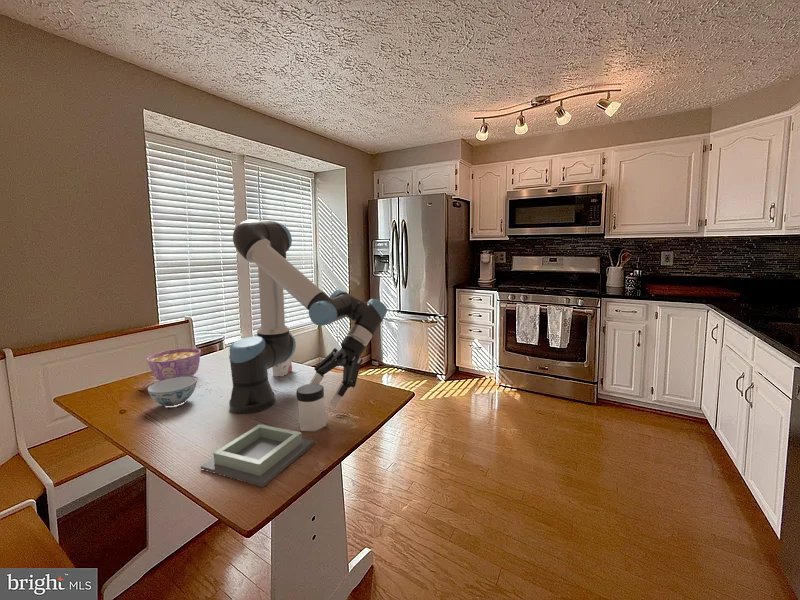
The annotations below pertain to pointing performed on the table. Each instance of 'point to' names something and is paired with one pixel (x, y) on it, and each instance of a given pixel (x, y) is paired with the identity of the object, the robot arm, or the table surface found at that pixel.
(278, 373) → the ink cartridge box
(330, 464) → the table surface
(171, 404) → the chinaware
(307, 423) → the jar
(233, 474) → the green and grey tray
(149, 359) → the bowl of food
